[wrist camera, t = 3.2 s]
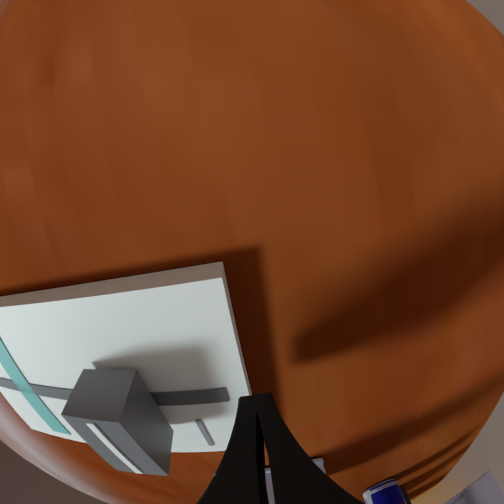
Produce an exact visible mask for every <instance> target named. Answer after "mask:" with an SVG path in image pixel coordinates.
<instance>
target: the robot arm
mask: <svg viewBox="0 0 504 504" xmlns="http://www.w3.org/2000/svg"><path fill="white" fill-rule="evenodd" d="M264 442H265V446H266V449H267V453H268V458H269V465H270V468H265V454H264ZM323 463H324V461H323V459H322V458H317V459H313V460H312V459H311V458H310V457H309V456H308V455H307V454H306V453H305V451H304V450H303V449H302V448H301V446H300V445H299V444H298V442H297V441H296V439H295V438H294V437H293V435H292V434H291V432H290V431H289V429H288V427H287V426H286V424H285V422H284V421H283V419H282V417H281V415H280V413H279V411H278V409H277V407H276V404H275V402H274V399H273V396H272V393H270V392H268V393H262V394H256V395H249V396H241V397H240V398H238V408H237V414H236V418H235V423H234V426H233V430H232V433H231V437H230V440H229V443H228V446H227V448H226V451H225V453H224V456H223V458H222V461H221V463H220V465H219V467H218V469H217V471H216V473H215V474H214V477H213V479H212V481H211V482H210V484H209V486H208V488H207V489H206V491H205V492H204V494H203V495H202V497H201V498H200V500H199V501H198V503H197V504H364V503H362V502H361V501H359V500H358V499H356V498H355V497H353V496H352V495H351V494H349V493H348V492H346V491H345V490H344V489H343V488H341V487H340V486H339V485H337V484H336V483H335V482H334V481H333V480H332V479H331V478H330V477H328V476H327V475H326V472H325V468H324V465H323ZM444 504H504V493H503V491H502V489H501V487H500V485H499V483H498V482H497V480H496V478H495V477H494V475H493V473H492V471H491V470H489V471H487V472H486V473H485V474H483V475H482V476H481V477H480V478H478V479H477V480H476V481H475V482H473V483H472V484H471V485H469V486H468V487H466V488H465V489H464V490H463V491H462V492H460V493H459V494H457V495H455V496H454V497H452V498H451V499H450V500H448V501H447V502H445V503H444Z"/></svg>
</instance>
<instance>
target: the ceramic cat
mask: <svg viewBox="0 0 504 504" xmlns="http://www.w3.org/2000/svg"><path fill="white" fill-rule="evenodd" d="M399 488H400V490H401V492H402V495H403V497H404V499H405V502H406V504H411V502H410V500H409V497H408V495H407V492H406V491H405V488H404V487H403V486H400V487H399Z"/></svg>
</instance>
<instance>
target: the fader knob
mask: <svg viewBox="0 0 504 504" xmlns="http://www.w3.org/2000/svg"><path fill="white" fill-rule="evenodd" d="M61 415H62V417H63V418H64V419H65V420H66V421H67V422H68V423H69V425H70V426H71V427H72V428H73V429H74V430H75V431H76V432H77V433H78V434H79V435H80V436H81V437H82V438H83V439H84V440H85V441H86V442H87V443H88V444H89V445H90V446H91V447H92V448H93V449H94V450H95V451H96V452H97V453H98V454H99V455H100V456H101V457H102V458H103V459H104V460H106V461H107V462H108V463H109V464H110V465H111V466H112V467H114V468H115V469H116V470H120V471H127V472H134V473H140V474H152V475H165V476H169V466H170V457H171V448H172V440H173V432H174V430H173V429H172V427H171V426H170V424H169V423H168V421H167V420H166V418H165V417H164V415H163V414H162V412H161V411H160V409H159V407H158V406H157V404H156V403H155V401H154V399H153V398H152V396H151V394H150V393H149V391H148V389H147V387H146V386H145V384H144V382H143V380H142V378H141V377H140V375H139V373H138V371H137V369H83V371H82V373H81V375H80V376H79V378H78V380H77V382H76V384H75V386H74V388H73V390H72V392H71V394H70V396H69V398H68V400H67V402H66V404H65V407H64V409H63V411H62V413H61Z"/></svg>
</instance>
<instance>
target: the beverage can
mask: <svg viewBox="0 0 504 504" xmlns="http://www.w3.org/2000/svg"><path fill="white" fill-rule="evenodd" d="M363 497H364V500H365V503H366V504H406V502H405V499H404V497H403V495H402V492H401V490H400V488H399V485H398V483H397V481H396V479H388V480H385V481H382V482H380V483H378V484H376V485H374V486H372V487H370V488H368V489H367V490H366V491H365V492H364V493H363Z"/></svg>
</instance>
